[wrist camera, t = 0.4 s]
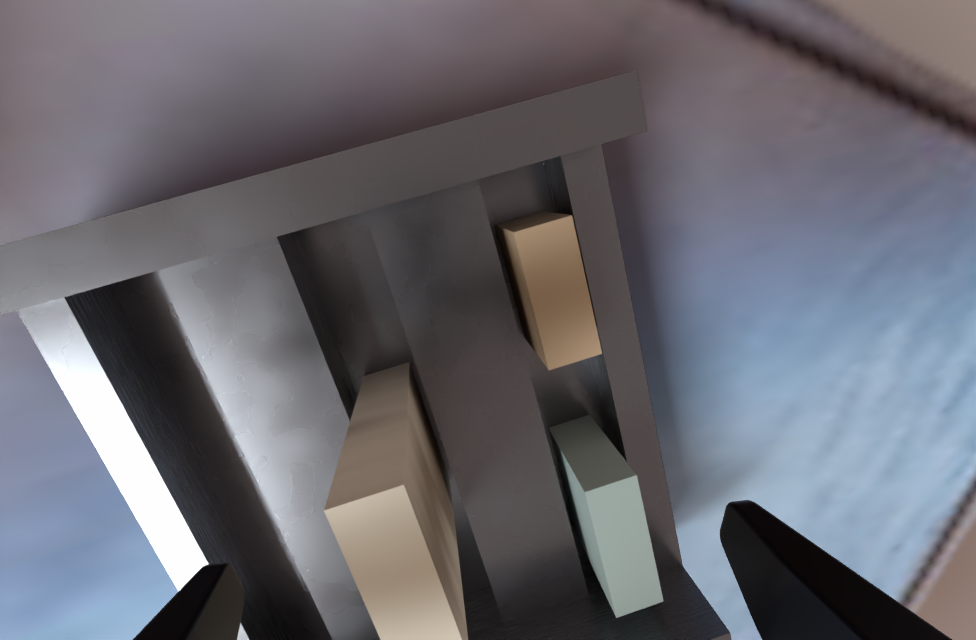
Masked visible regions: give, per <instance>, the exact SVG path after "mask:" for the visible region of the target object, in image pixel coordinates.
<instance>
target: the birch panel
mask: <svg viewBox="0 0 976 640" xmlns="http://www.w3.org/2000/svg"><path fill="white" fill-rule="evenodd" d="M324 512H325V515H326V517H327V519H328V521H329V524H330V526H331V528H332V530H333V533H334V535H335V537H336V540H337V542H338V544H339V546H340V549H341V551H342V553H343V555H344V558H345V560H346V562H347V565H348V567H349V569H350V571H351V574H352V576H353V578H354V581H355V583H356V585H357V587H358V590H359V592H360V594H361V596H362V599H363V601H364V603H365V606H366V608H367V610H368V612H369V615H370V617H371V619H372V621H373V624H374V626H375V628H376V631H377V633H378V635H379V637H380V640H468V634H467V625H466V616H465V607H464V599H463V590H462V581H461V572H460V564H459V555H458V546H457V538H456V529H455V520H454V511H453V503H452V494H451V485H450V479H449V476H448V473H447V470H446V467H445V464H444V461H443V458H442V456H441V453H440V450H439V447H438V444H437V441H436V438H435V435H434V432H433V429H432V426H431V423H430V421H429V418H428V415H427V412H426V409H425V406H424V403H423V400H422V397H421V394H420V391H419V388H418V385H417V383H416V380H415V377H414V374H413V371H412V368H411V365H410V362H408V363H405V364H401V365H398V366H395V367H392V368H388V369H385V370H382V371H379V372H375V373H372V374H369V375H366V376H363V379H362V383H361V386H360V390H359V393H358V396H357V400H356V403H355V407H354V410H353V413H352V417H351V420H350V424H349V427H348V430H347V434H346V437H345V441H344V444H343V447H342V451H341V454H340V457H339V461H338V464H337V468H336V471H335V474H334V478H333V481H332V485H331V488H330V491H329V495H328V498H327V502H326V505H325V508H324Z"/></svg>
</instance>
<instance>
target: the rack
mask: <svg viewBox="0 0 976 640" xmlns="http://www.w3.org/2000/svg"><path fill="white" fill-rule="evenodd" d="M646 131H647V127H646V121H645V115H644V109H643V103H642V97H641V91H640V85H639V79H638V73H637V70H635V71H631V72H627V73H624V74H620V75H616V76H613V77H609V78H606V79H602V80H598V81H595V82H591V83H587V84H584V85H580V86H577V87H573V88H569V89H566V90H562V91H558V92H555V93H551V94H547V95H544V96H540V97H537V98H533V99H529V100H526V101H522V102H518V103H515V104H511V105H508V106H504V107H500V108H497V109H493V110H489V111H486V112H482V113H479V114H475V115H471V116H468V117H464V118H460V119H457V120H453V121H450V122H446V123H442V124H439V125H435V126H431V127H428V128H424V129H421V130H417V131H413V132H410V133H406V134H402V135H399V136H395V137H392V138H388V139H384V140H381V141H377V142H373V143H370V144H366V145H363V146H359V147H355V148H352V149H348V150H344V151H341V152H337V153H334V154H330V155H326V156H323V157H319V158H315V159H312V160H308V161H305V162H301V163H297V164H294V165H290V166H286V167H283V168H279V169H275V170H272V171H268V172H265V173H261V174H257V175H254V176H250V177H246V178H243V179H239V180H236V181H232V182H228V183H225V184H221V185H217V186H214V187H210V188H207V189H203V190H199V191H196V192H192V193H188V194H185V195H181V196H178V197H174V198H170V199H167V200H163V201H159V202H156V203H152V204H149V205H145V206H141V207H138V208H134V209H130V210H127V211H123V212H120V213H116V214H112V215H109V216H105V217H101V218H98V219H94V220H91V221H87V222H83V223H80V224H76V225H72V226H69V227H65V228H62V229H58V230H54V231H51V232H47V233H43V234H40V235H36V236H33V237H29V238H25V239H22V240H18V241H14V242H11V243H7V244H3V245H0V315H4V314H7V313H11V312H14V311H17V312H18V314H19V315H20V317H21V319H22V321H23V322H24V324H25V326H26V328H27V329H28V331H29V333H30V335H31V336H32V338H33V340H34V342H35V343H36V345H37V347H38V348H39V350H40V352H41V354H42V355H43V357H44V359H45V361H46V362H47V364H48V366H49V368H50V369H51V371H52V373H53V375H54V376H55V378H56V380H57V381H58V383H59V385H60V387H61V388H62V390H63V392H64V394H65V395H66V397H67V399H68V401H69V402H70V404H71V406H72V408H73V409H74V411H75V413H76V414H77V416H78V418H79V420H80V421H81V423H82V425H83V427H84V428H85V430H86V432H87V434H88V435H89V437H90V439H91V441H92V442H93V444H94V446H95V447H96V449H97V451H98V453H99V454H100V456H101V458H102V460H103V461H104V463H105V465H106V467H107V468H108V470H109V472H110V474H111V475H112V477H113V479H114V480H115V482H116V484H117V486H118V487H119V489H120V491H121V493H122V494H123V496H124V498H125V500H126V501H127V503H128V505H129V507H130V508H131V510H132V512H133V513H134V515H135V517H136V519H137V520H138V522H139V524H140V526H141V527H142V529H143V531H144V533H145V534H146V536H147V538H148V540H149V541H150V543H151V545H152V546H153V548H154V550H155V552H156V553H157V555H158V557H159V559H160V560H161V562H162V564H163V566H164V567H165V569H166V571H167V573H168V574H169V576H170V578H171V579H172V581H173V583H174V585H175V586H176V588H177V590H178V592H179V591H180V589H181V588H182V587H183V586H184V585H185V584H186V583H187V582H188V581H189V580H190V579H191V578H192V577H193V576H194V575H195V574H196V573H197V572H198V571H199V570H200V569H201V568H202V567H203V566H205V565H208V564H215V563H223V562H228V563H230V564H231V565H232V566H233V568H234V570H235V572H236V575H237V577H238V579H239V581H240V583H241V585H242V587H243V590H244V597H245V599H244V607H243V612H242V617H241V622H240V627H239V632H238V637H237V640H380V637H379V635H378V633H377V631H376V628H375V626H374V624H373V621H372V619H371V617H370V615H369V612H368V610H367V608H366V606H365V603H364V601H363V599H362V596H361V594H360V592H359V590H358V587H357V585H356V583H355V581H354V578H353V576H352V574H351V571H350V569H349V567H348V565H347V562H346V560H345V558H344V555H343V553H342V551H341V549H340V546H339V544H338V542H337V540H336V537H335V535H334V533H333V530H332V528H331V526H330V524H329V521H328V519H327V517H326V515H325V512H324V508H325V505H326V502H327V498H328V495H329V491H330V488H331V485H332V481H333V478H334V474H335V471H336V468H337V464H338V461H339V457H340V454H341V451H342V447H343V444H344V441H345V437H346V434H347V430H348V427H349V424H350V420H351V417H352V413H353V410H354V407H355V403H356V400H357V396H358V393H359V390H360V386H361V383H362V379H363V376H366V375H369V374H372V373H375V372H379V371H382V370H385V369H388V368H392V367H395V366H398V365H401V364H405V363H408V362H410V365H411V368H412V371H413V374H414V377H415V380H416V383H417V385H418V388H419V391H420V394H421V397H422V400H423V403H424V406H425V409H426V412H427V415H428V418H429V421H430V423H431V426H432V429H433V432H434V435H435V438H436V441H437V444H438V447H439V450H440V453H441V456H442V458H443V461H444V464H445V467H446V470H447V473H448V476H449V479H450V485H451V494H452V503H453V511H454V520H455V529H456V538H457V546H458V555H459V564H460V572H461V581H462V590H463V599H464V607H465V616H466V625H467V634H468V640H731V634H730V632H729V630H728V629H727V628H726V626H725V625H724V623H723V622H722V621H721V619H720V618H719V616H718V615H717V614H716V612H715V611H714V609H713V608H712V607H711V605H710V604H709V602H708V601H707V600H706V598H705V597H704V595H703V594H702V593H701V591H700V590H699V588H698V587H697V586H696V584H695V583H694V581H693V580H692V579H691V577H690V576H689V574H688V573H687V572H686V570H685V569H684V567H683V566H682V560H681V555H680V550H679V545H678V540H677V534H676V529H675V524H674V519H673V514H672V508H671V503H670V498H669V493H668V488H667V482H666V477H665V472H664V467H663V462H662V456H661V451H660V446H659V441H658V436H657V430H656V425H655V420H654V415H653V410H652V404H651V399H650V394H649V389H648V384H647V379H646V373H645V368H644V363H643V358H642V353H641V347H640V342H639V337H638V332H637V327H636V321H635V316H634V311H633V306H632V301H631V295H630V290H629V285H628V280H627V275H626V269H625V264H624V259H623V254H622V249H621V243H620V238H619V233H618V228H617V223H616V217H615V212H614V207H613V202H612V197H611V192H610V186H609V181H608V176H607V171H606V166H605V160H604V155H603V150H602V145H601V144H604V143H607V142H611V141H614V140H618V139H621V138H625V137H628V136H632V135H636V134H639V133H643V132H646ZM540 211H545V212H552V213H559V214H567V215H572V217H573V222H574V227H575V231H576V236H577V240H578V245H579V250H580V254H581V259H582V263H583V268H584V273H585V277H586V282H587V286H588V291H589V295H590V300H591V305H592V309H593V314H594V318H595V323H596V328H597V332H598V337H599V341H600V346H601V351H602V354H600V355H596V356H593V357H590V358H587V359H584V360H581V361H577V362H574V363H571V364H568V365H565V366H561V367H558V368H555V369H552V370H548V369H547V367H546V366H545V365H544V363H543V362H542V361H541V359H540V358H539V357H538V355H537V354H536V353H535V351H534V350H533V349H532V347H531V346H530V345H529V343H528V342H527V340H526V339H525V337H524V334H523V330H522V326H521V322H520V318H519V315H518V311H517V307H516V303H515V300H514V296H513V292H512V288H511V284H510V281H509V277H508V273H507V269H506V265H505V262H504V258H503V254H502V250H501V247H500V243H499V239H498V235H497V231H496V228H495V225H496V224H499V223H503V222H506V221H510V220H513V219H516V218H520V217H523V216H527V215H530V214H534V213H537V212H540ZM587 415H590V416H591V417H592V418H593V420H594V421H595V422H596V423H597V425H598V426H599V427H600V429H601V430H602V431H603V432H604V434H605V435H606V436H607V438H608V439H609V440H610V441H611V443H612V444H613V445H614V446H615V448H616V449H617V450H618V452H619V453H620V454H621V455H622V457H623V458H624V459H625V461H626V462H627V463H628V464H629V466H630V467H631V468H632V469H633V471H634V472H635V473H636V475H637V478H638V483H639V488H640V492H641V497H642V502H643V506H644V511H645V516H646V521H647V525H648V530H649V535H650V539H651V544H652V549H653V554H654V558H655V563H656V568H657V572H658V577H659V582H660V587H661V591H662V596H663V602H660V603H658V604H655V605H652V606H649V607H646V608H643V609H640V610H638V611H635V612H632V613H629V614H626V615H623V616H621V617H618V618H616V616H615V614H614V612H613V610H612V608H611V606H610V604H609V601H608V599H607V597H606V595H605V593H604V591H603V589H602V587H601V584H600V582H599V580H598V578H597V576H596V574H595V572H594V570H593V567H592V565H591V563H590V561H589V559H588V557H587V555H586V553H585V550H584V548H583V546H582V544H581V542H580V540H579V538H578V535H577V533H576V530H575V526H574V522H573V519H572V515H571V511H570V507H569V504H568V500H567V496H566V492H565V488H564V485H563V481H562V477H561V473H560V470H559V466H558V462H557V458H556V454H555V451H554V447H553V443H552V439H551V436H550V432H549V427H553V426H556V425H559V424H562V423H565V422H568V421H571V420H574V419H577V418H580V417H584V416H587Z"/></svg>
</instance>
